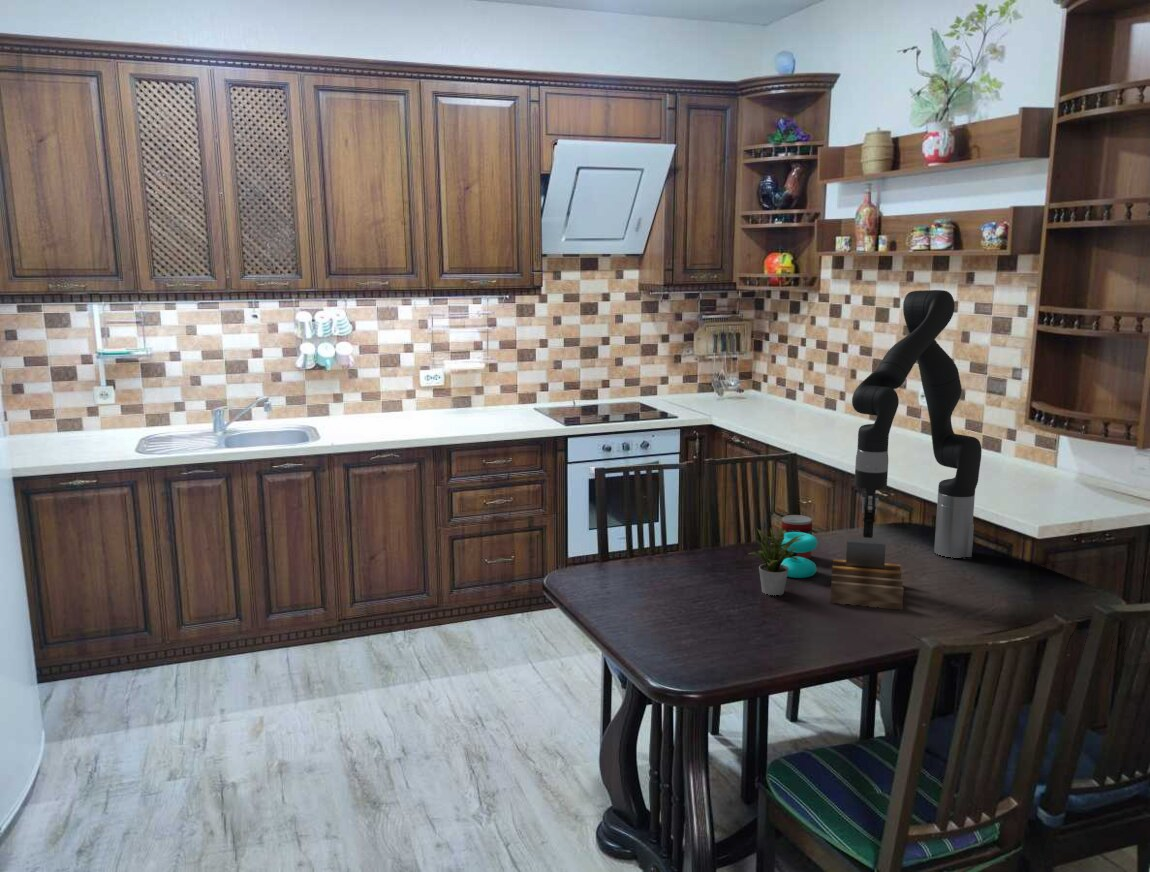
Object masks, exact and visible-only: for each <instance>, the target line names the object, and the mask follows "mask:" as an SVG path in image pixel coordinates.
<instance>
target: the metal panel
mask: <svg viewBox="0 0 1150 872" xmlns="http://www.w3.org/2000/svg"><path fill="white" fill-rule="evenodd" d="M886 545H887V544H886V541H884V540H883V541H881V540H870V539H868V540H867V539H854V538H852V539H851V538H847V539H846V554H845V555H846V557H845V560H846V567H856V568H868V569H880V570H884V564H885V562H886Z"/></svg>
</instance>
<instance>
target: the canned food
mask: <svg viewBox="0 0 1150 872" xmlns="http://www.w3.org/2000/svg"><path fill="white" fill-rule="evenodd" d="M782 527H783V531H784V530H785V533H788V532H803V533H808V534H811V535H813V531H812V530H813V519H812V517H809V516H806V515H799V514H790V515H788V514H787V515H785V516H783V517H782V518H781V528H782ZM781 550H782V548H780V551H781ZM787 552H789V551H786V552H785V553H787ZM785 553H784V554H785ZM792 553H794V554H793V555H790V556H792V557H803V558H807V559H809V560H811V557H812V556H811V555H812V551H809V552H805V553H795V552H792ZM781 555H782V554H781Z"/></svg>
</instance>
